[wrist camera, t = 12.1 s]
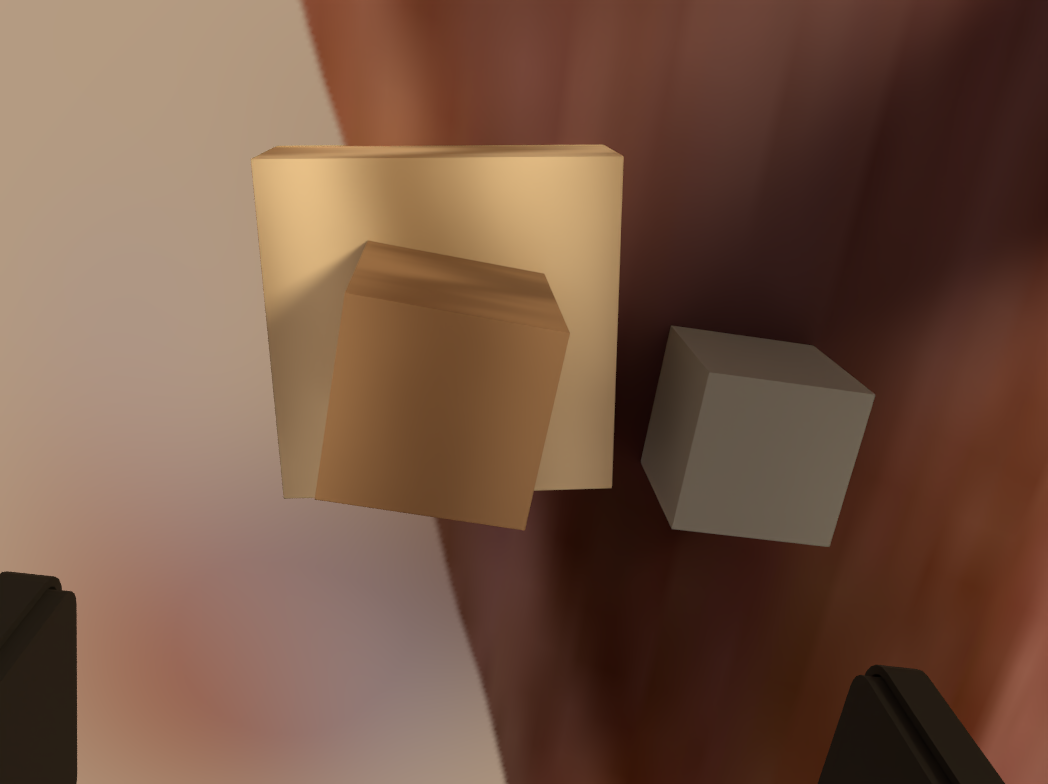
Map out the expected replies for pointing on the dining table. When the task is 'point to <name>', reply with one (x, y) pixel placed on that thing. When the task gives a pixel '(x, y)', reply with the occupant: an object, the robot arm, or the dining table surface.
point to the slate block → (753, 437)
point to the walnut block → (441, 387)
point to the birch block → (449, 229)
